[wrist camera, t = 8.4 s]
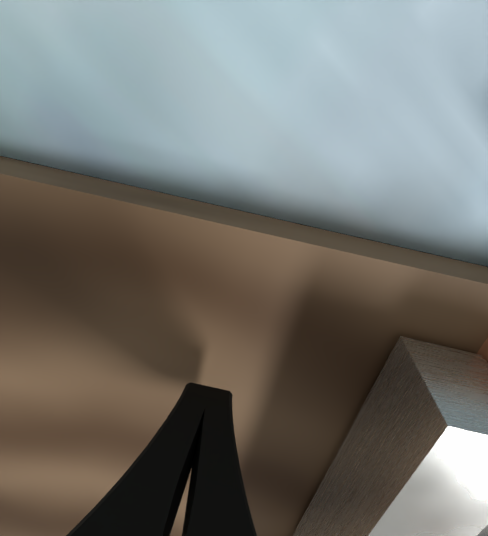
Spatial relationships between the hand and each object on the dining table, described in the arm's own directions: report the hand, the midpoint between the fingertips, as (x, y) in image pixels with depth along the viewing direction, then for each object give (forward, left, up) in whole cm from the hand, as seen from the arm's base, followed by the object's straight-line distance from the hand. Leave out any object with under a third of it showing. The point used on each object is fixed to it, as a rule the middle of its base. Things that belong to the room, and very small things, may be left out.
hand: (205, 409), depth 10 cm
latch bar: (-4, -6, -1) cm, 7 cm away
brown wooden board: (-5, -1, -3) cm, 6 cm away
